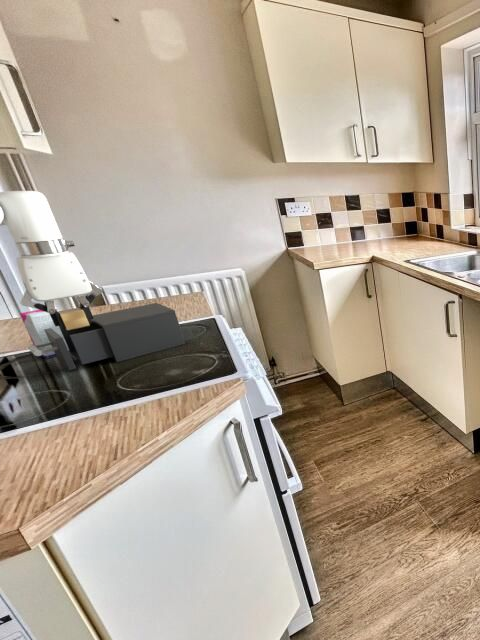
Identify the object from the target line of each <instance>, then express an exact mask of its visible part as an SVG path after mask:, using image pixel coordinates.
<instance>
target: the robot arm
mask: <svg viewBox="0 0 480 640" xmlns="http://www.w3.org/2000/svg"><path fill="white" fill-rule="evenodd" d="M0 226H5V227H7V229H8V231H9V234H10V236H11V238H12V240H13V242H14V245H15V247H16V250H17V251H18V253H19V255H20V256H18V257H16V258H15V259H16V260H15V261H16V264H17V265H16V266H17V269H18V272H19V275H20V278H21V280H22V283H23V286H24V289H25V290H24V293H23V295H22V297H21V299H20V302H19V303H20V305H21V306H23V307H28V308H32V309H36V310H42V311H45V312H47V313H49V314H50V316H51V318H52V321H53V323H54V325H55V326H59V327H60V328H61V329H62V330H63V329H65V328H66V327H65V325H64V323H63V320H62V318H61V316H60V313H59V312H57V310H56V305H55V301H56V300H62V299H67V298H72V297H75V299H76V300H77V301H78V303H79V307H78V308H80V309H82V310H84V313H85V315H86V318H87V320H88V322H89V324H91V323H92V321H91V319H94V318H93V316H92V315H93V313H92V310H91V308H90V306H91V304H92V303H93V302H94V300H95V299H96V298H97V297H99V295H101V294H102V293H103V292H104V290H103V289H102V288H101V287H100V286H98V285H96V284H95V283H93V282H92V281H90V280H89V279H88V276H87V275H86V273H85V270H84V268H83V266H82V265H81V263H80V262H79V260H78V258H77V256H76V255H75V254H74V253H73V252H72V251H69V249H70V248H72V247H75V246H76V245H75V243H74V241H73V240H66V239H65V238H63V235H62V233H61V231H60V228H59V225H58V223H57V220H56V219H55V216H54V214H53V211H52V209H51V206H50V204H49V202H48V199H47V197H46V195H44V194H43V193H42V192H40V191H37V190H7V191H0ZM85 295H86V296H85ZM32 299H33V300H34V301H33V300H32ZM40 302H43V303H44V304H43V303H40Z"/></svg>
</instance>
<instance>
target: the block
mask: <svg viewBox="0 0 480 640" xmlns="http://www.w3.org/2000/svg"><path fill="white" fill-rule="evenodd" d="M58 312H59V313H60V316H61V318H62V320H63V323H64V325H65V327H66V328H65V329H66V330H72V329H76V328H81V327H86V326H90V325H89V322H88V320H87V318H86V315H85V313H84V310H82V309H80V308H79V307H75V308H69V309H64V310H59V311H58Z"/></svg>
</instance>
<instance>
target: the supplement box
mask: <svg viewBox="0 0 480 640" xmlns="http://www.w3.org/2000/svg"><path fill="white" fill-rule="evenodd" d="M55 309H56V308H55ZM56 310H57V312H58V311H60V309H56ZM19 315H20V317H21V321H22V322H23V324H24V326H25V329H26V331H27V333H28V335H29V338H30V341H31V342H32V344H35V345H39V344H44V343H48V342H50V341H49V339H48V337H47V335H46V332H45V330H44V329H48V328H51V329H53V330H54V331H55V332H56V333H57V334H59V335H60V336H61V337H62V338H63V340H64V342H65V344H66V341H65V339H64V337H63V335H62V332H61V330H60V327H59V326H55V325H54V323H53V321H52V318H51V316H50V314H49V313H47V312H45V311H42V310H39V309H36V310H29V311H24V312H20V313H19ZM66 347H67V349H68V351H69V353H70V350H69V348H68V346H67V344H66ZM49 348H52V346H51V345H48V346H44V347H40V348H39V349H40V350H41V351H42V350H45V349H49ZM40 357H44V358H46V359H50V358H53V357H56V354H55V352H54V351H50V352H46V353H43V354H42V355H41V356H40Z"/></svg>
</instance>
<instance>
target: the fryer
mask: <svg viewBox="0 0 480 640" xmlns="http://www.w3.org/2000/svg"><path fill="white" fill-rule="evenodd" d="M92 316H93V318H94V319H91V321H92V322H94V323H96V324H97V325H99V326H100V327H102V328H103V330H104V333H105V335H106V338H107V340H108V343H109V345H110V348H111V350H112V353H113V355H114V357H110V358H111V359H112V360H113V361H114V362H116V363H119V362H123V361H126V360H130V359H134V358H138V357H141V356H145V355H149V354H153V353H156V352H157V353H158V352H160V351H164V350H167V349H172V348H175V347H179V346H182V345H186V340H185V337H184V334H183V332H182V328H181V325H180V322H179V319H178V315H177V313H176V310H175V309H173V308H171V307H168V306H166V305H163V304H161V303H158V302H154V303H149V304H148V303H147V304H143V305H138V306H133V307H128V308H123V309H119V310H114V311H108V312H102V313H98V314H92Z"/></svg>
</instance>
